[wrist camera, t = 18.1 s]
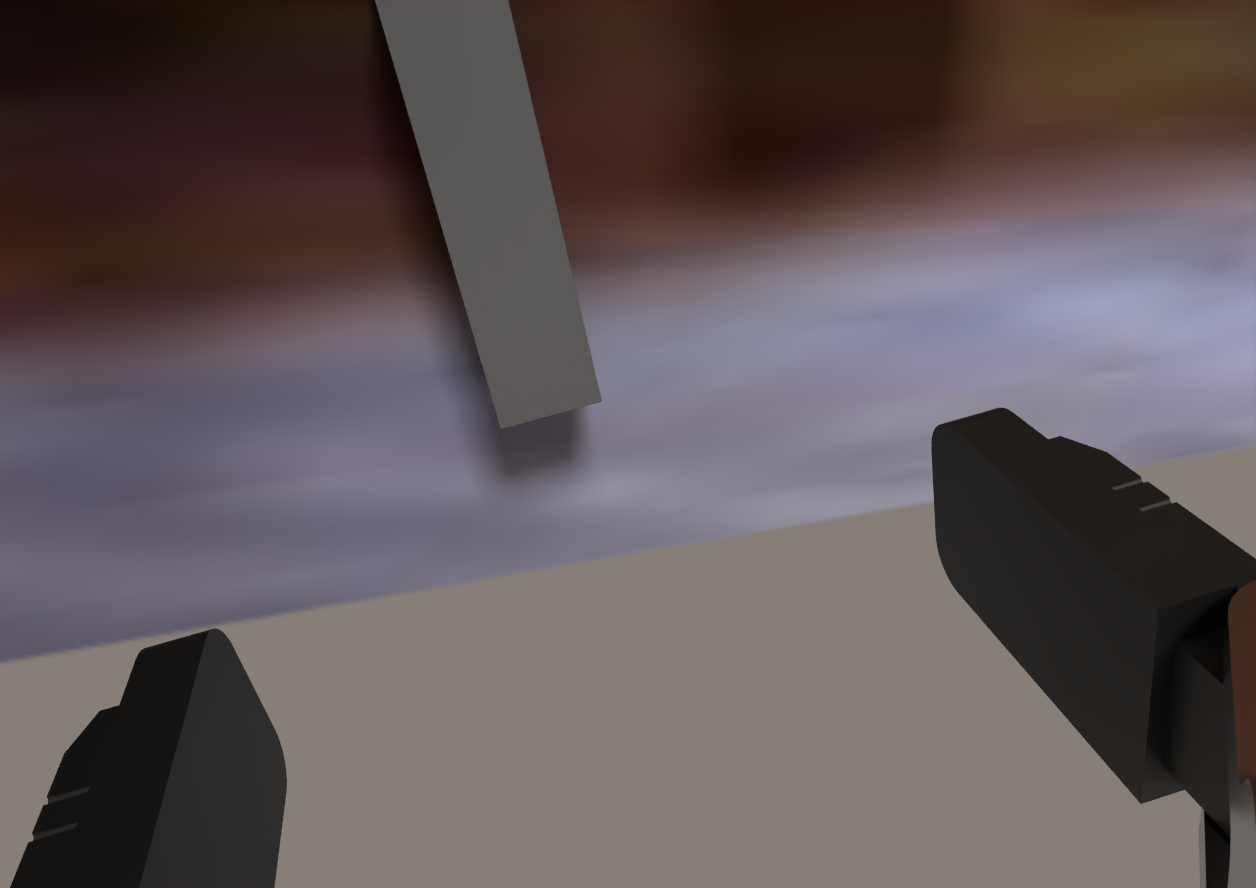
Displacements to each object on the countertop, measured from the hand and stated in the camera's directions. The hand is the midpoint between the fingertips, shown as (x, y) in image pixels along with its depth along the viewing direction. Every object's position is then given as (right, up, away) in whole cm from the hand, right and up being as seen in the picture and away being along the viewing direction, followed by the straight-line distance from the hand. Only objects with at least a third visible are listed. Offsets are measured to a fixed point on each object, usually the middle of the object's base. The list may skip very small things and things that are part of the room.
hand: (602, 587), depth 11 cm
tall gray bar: (-4, +9, +18) cm, 21 cm away
